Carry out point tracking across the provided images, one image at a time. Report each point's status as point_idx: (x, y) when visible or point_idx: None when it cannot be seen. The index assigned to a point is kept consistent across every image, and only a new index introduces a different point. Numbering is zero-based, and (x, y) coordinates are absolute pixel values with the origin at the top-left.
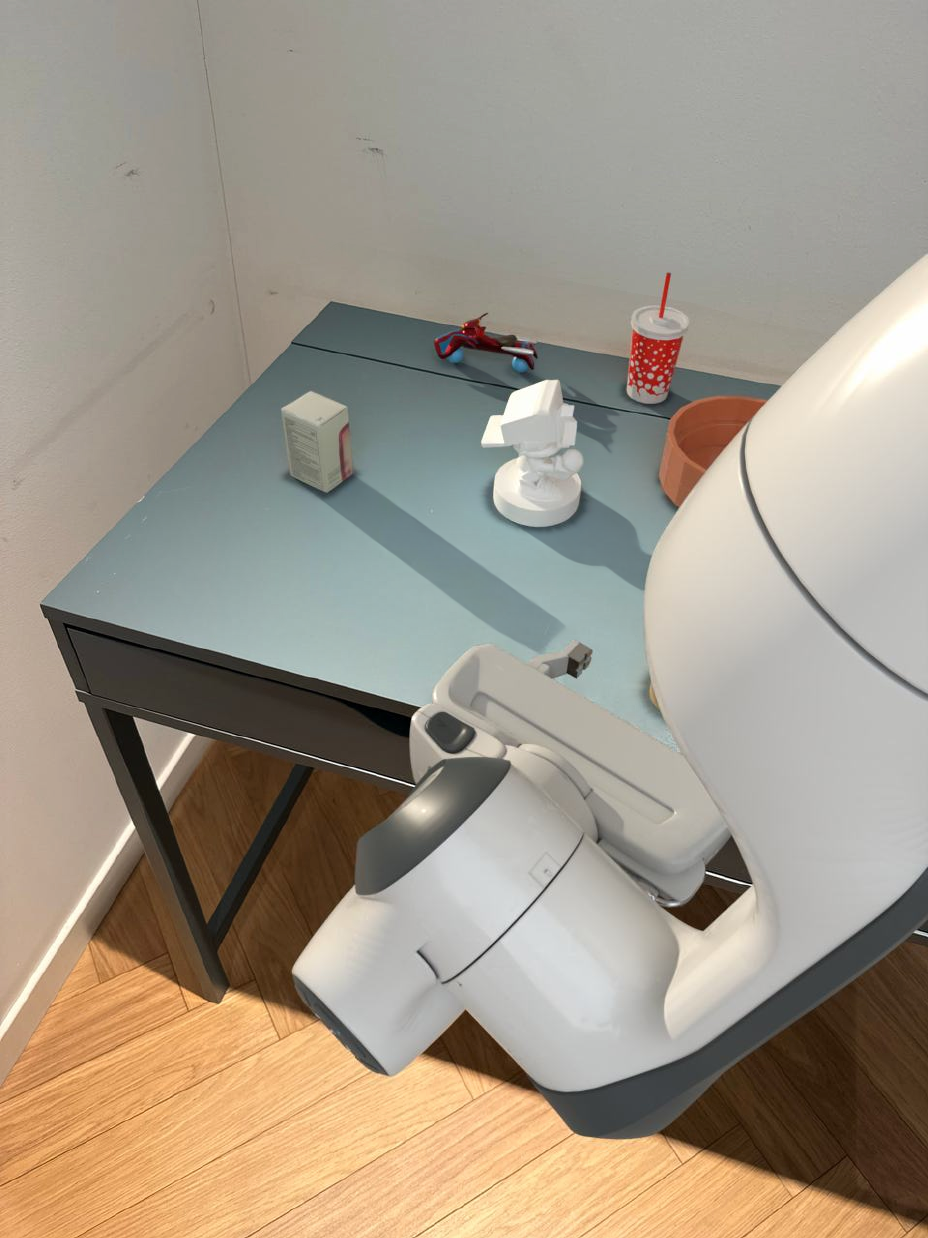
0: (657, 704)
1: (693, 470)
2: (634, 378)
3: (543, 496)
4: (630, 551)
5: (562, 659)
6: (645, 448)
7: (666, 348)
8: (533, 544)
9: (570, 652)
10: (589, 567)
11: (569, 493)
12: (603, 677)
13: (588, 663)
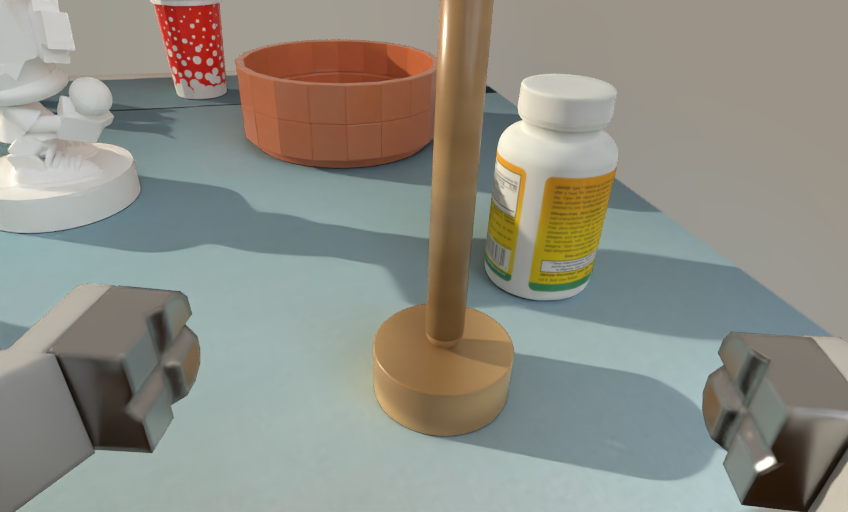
0: (411, 421)
1: (290, 88)
2: (179, 70)
3: (65, 176)
4: (241, 217)
5: (17, 384)
6: (219, 127)
7: (203, 19)
8: (66, 251)
9: (64, 335)
10: (180, 252)
11: (114, 168)
12: (272, 417)
13: (191, 363)
